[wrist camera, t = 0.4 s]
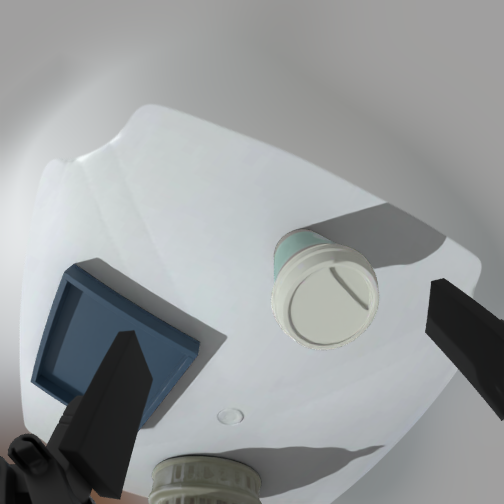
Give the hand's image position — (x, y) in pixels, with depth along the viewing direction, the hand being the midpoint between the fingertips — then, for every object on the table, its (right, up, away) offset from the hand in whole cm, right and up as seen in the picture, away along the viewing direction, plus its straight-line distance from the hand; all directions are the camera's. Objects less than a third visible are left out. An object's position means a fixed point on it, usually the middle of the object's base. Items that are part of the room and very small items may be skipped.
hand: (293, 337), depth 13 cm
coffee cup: (+3, +3, +21) cm, 22 cm away
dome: (-10, -39, +34) cm, 53 cm away
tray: (-21, -11, +24) cm, 34 cm away
